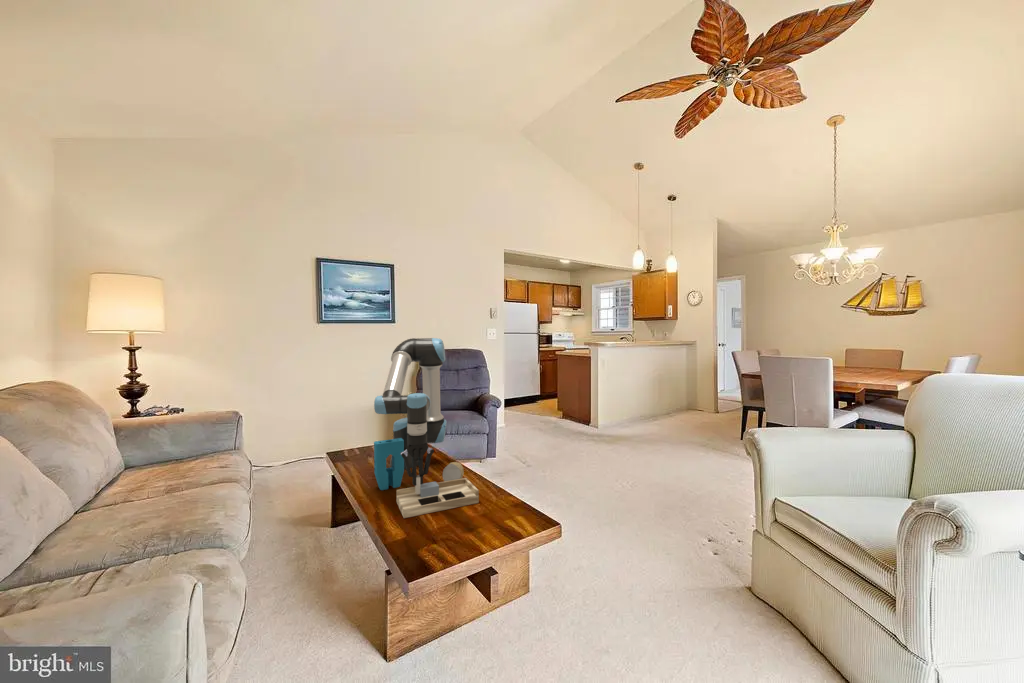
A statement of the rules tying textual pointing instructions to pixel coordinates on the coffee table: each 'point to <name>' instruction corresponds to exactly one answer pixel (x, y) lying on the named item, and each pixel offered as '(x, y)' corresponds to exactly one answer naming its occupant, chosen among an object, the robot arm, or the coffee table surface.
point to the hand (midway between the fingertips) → (417, 492)
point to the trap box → (437, 498)
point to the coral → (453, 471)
